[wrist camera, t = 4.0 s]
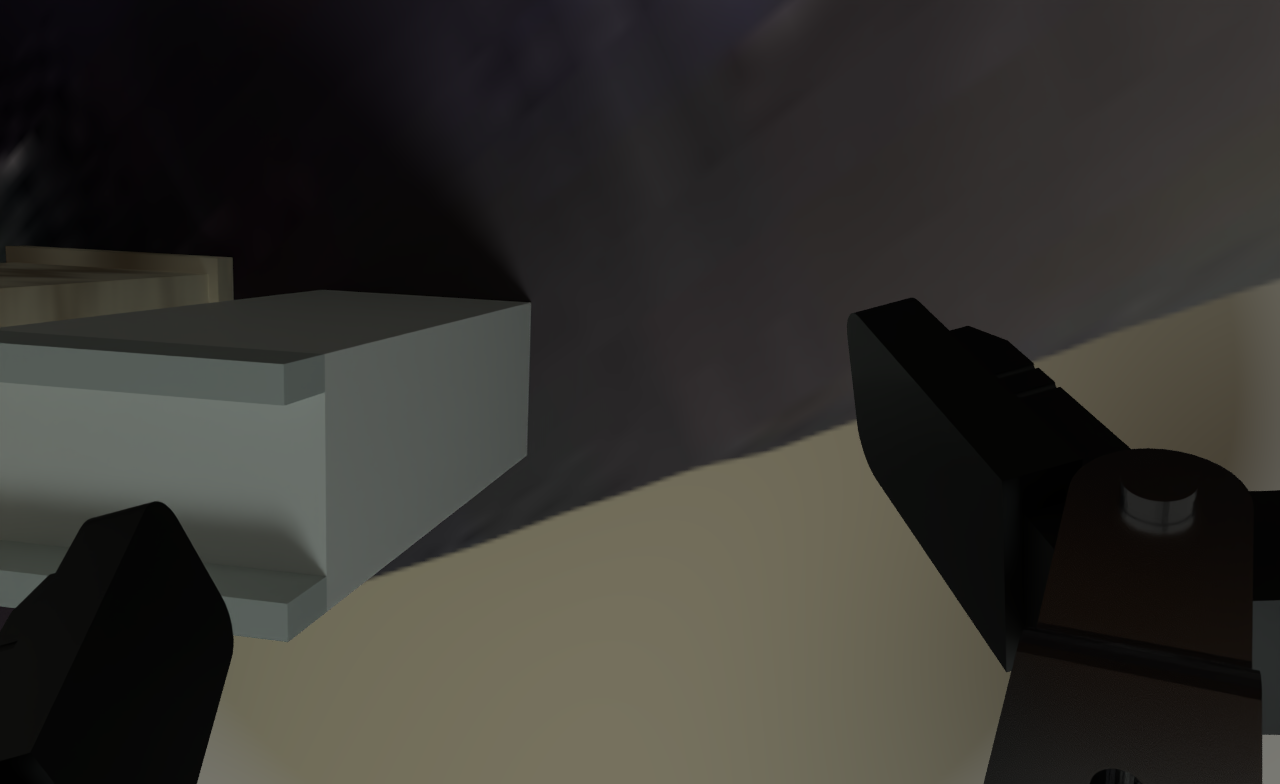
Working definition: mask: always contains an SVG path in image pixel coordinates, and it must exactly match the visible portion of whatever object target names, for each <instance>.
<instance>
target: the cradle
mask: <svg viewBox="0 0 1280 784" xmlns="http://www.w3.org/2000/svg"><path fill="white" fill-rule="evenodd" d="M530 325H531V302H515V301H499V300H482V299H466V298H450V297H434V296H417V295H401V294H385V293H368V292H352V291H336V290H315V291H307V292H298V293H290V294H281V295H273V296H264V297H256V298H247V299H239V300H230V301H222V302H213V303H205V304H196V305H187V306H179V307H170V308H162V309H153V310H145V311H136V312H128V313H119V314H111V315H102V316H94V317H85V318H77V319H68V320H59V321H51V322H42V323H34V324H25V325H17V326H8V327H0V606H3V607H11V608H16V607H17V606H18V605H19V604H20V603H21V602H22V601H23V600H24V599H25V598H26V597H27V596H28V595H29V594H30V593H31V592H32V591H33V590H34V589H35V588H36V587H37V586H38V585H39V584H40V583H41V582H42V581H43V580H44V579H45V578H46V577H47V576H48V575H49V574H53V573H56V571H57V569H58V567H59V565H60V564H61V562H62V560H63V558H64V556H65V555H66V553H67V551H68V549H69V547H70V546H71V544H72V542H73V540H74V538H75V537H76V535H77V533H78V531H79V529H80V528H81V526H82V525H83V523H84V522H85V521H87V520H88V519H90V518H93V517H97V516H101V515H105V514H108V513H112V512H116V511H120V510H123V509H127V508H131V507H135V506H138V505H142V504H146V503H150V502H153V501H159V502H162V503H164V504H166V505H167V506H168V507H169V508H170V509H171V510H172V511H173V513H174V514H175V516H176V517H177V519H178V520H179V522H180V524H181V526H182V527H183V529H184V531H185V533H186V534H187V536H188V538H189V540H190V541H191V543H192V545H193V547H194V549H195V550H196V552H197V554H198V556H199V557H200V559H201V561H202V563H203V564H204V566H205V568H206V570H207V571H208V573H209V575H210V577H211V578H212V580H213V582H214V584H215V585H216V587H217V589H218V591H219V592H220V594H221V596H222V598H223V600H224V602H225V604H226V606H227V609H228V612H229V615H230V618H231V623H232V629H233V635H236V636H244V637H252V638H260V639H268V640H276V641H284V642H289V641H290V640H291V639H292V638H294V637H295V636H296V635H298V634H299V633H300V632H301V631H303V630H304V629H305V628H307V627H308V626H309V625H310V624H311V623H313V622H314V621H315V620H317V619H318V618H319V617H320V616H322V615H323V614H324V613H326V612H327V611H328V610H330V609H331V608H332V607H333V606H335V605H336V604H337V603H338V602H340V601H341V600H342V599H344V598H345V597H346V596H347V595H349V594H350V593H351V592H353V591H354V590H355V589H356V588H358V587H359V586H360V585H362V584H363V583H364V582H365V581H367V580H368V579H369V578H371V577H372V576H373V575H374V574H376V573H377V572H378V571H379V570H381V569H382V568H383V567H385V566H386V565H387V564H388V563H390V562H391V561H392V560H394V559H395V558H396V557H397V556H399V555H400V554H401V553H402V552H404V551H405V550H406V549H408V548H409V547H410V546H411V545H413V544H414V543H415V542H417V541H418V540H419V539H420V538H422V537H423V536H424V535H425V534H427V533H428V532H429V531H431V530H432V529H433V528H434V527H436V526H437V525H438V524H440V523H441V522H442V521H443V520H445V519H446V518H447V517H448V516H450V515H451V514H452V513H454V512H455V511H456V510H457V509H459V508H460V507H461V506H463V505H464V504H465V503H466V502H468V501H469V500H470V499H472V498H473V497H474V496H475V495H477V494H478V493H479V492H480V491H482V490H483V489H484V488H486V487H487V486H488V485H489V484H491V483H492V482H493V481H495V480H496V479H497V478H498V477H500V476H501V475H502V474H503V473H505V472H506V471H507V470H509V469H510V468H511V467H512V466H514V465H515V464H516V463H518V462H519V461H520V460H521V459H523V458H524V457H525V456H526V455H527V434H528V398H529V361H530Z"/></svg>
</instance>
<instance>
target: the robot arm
mask: <svg viewBox="0 0 1280 784" xmlns="http://www.w3.org/2000/svg"><path fill="white" fill-rule="evenodd" d="M847 335H848V345H849V354H850V363H851V372H852V381H853V390H854V399H855V408H856V417H857V425H858V431H859V436H860V440H861V444H862V448H863V451H864V454H865V457H866V460H867V462H868V464H869V467H870V469H871V471H872V473H873V475H874V476H875V478H876V480H877V481H878V483H879V484H880V486H881V487H882V488H883V490H884V492H885V493H886V494H887V496H888V497H889V499H890V500H891V502H892V503H893V505H894V506H895V508H896V509H897V511H898V512H899V514H900V515H901V517H902V518H903V519H904V521H905V523H906V524H907V526H908V527H909V528H910V530H911V532H912V533H913V534H914V536H915V537H916V539H917V540H918V542H919V543H920V544H921V546H922V548H923V549H924V551H925V552H926V554H927V555H928V557H929V558H930V559H931V561H932V563H933V564H934V565H935V567H936V568H937V570H938V572H939V573H940V574H941V576H942V577H943V579H944V580H945V582H946V583H947V585H948V586H949V588H950V589H951V591H952V592H953V594H954V595H955V597H956V598H957V600H958V601H959V603H960V604H961V606H962V607H963V609H964V610H965V611H966V613H967V614H968V616H969V617H970V619H971V620H972V622H973V623H974V625H975V626H976V628H977V629H978V630H979V632H980V634H981V635H982V637H983V638H984V640H985V641H986V643H987V644H988V646H989V647H990V649H991V650H992V652H993V653H994V654H995V656H996V657H997V659H998V660H999V662H1000V663H1001V665H1002V666H1003V668H1004V669H1005V671H1006V672H1009V671H1011V675H1010V679H1009V683H1008V687H1007V691H1006V695H1005V700H1004V704H1003V708H1002V712H1001V716H1000V719H999V724H998V728H997V732H996V736H995V740H994V744H993V748H992V752H991V756H990V760H989V764H988V768H987V772H986V776H985V781H984V784H1262V735H1265V734H1266V735H1267V734H1268V735H1280V490H1277V491H1248V489H1247V488H1246V487H1245V485H1244V484H1243V483H1242V482H1241V480H1239V479H1238V478H1237V477H1236V476H1235V475H1233V474H1232V473H1231V472H1230V471H1228V470H1226V469H1225V468H1223V467H1222V466H1220V465H1218V464H1216V463H1213V462H1211V461H1209V460H1207V459H1204V458H1201V457H1198V456H1195V455H1192V454H1187V453H1183V452H1179V451H1172V450H1166V449H1150V448H1147V449H1130V448H1129V447H1128V446H1127V445H1126V444H1125V443H1124V442H1122V441H1121V440H1120V439H1119V438H1118V437H1117V436H1116V435H1114V434H1113V433H1112V432H1111V431H1110V430H1109V429H1108V428H1106V427H1105V426H1104V425H1103V424H1102V423H1101V422H1100V421H1099V420H1097V419H1096V418H1095V417H1094V416H1093V415H1092V414H1090V413H1089V412H1088V411H1087V410H1086V409H1085V408H1084V407H1083V406H1081V405H1080V404H1079V403H1078V402H1077V401H1076V400H1075V399H1073V398H1072V397H1071V396H1070V395H1069V394H1068V393H1067V392H1065V391H1064V390H1063V389H1062V388H1061V387H1058V388H1056V386H1055V382H1054V381H1053V380H1052V379H1051V378H1049V376H1047V375H1046V374H1045V373H1044V372H1043V371H1041V369H1039V368H1036V369H1035V368H1034V364H1033V362H1031V361H1030V360H1029V359H1028V358H1027V357H1026V356H1025V355H1023V354H1022V353H1021V352H1020V351H1019V350H1018V349H1017V348H1016V347H1014V346H1013V345H1012V344H1011V343H1010V342H1009V341H1007V340H1005V339H1002V338H999V337H997V336H994V335H991V334H989V333H986V332H983V331H981V330H978V329H976V328H973V327H970V326H965V327H962V328H958V329H954V330H951V331H949V330H948V329H947V328H946V327H945V326H944V325H943V324H942V323H941V322H940V321H939V320H938V319H937V318H936V317H935V316H934V315H933V314H932V313H930V312H929V311H928V310H927V309H926V308H925V307H924V306H923V305H922V304H921V303H920V302H919V301H918V300H916V299H915V298H908V299H904V300H901V301H897V302H893V303H889V304H886V305H882V306H878V307H874V308H871V309H867V310H863V311H859V312H856V313H852V314H850V316H849V318H848V322H847ZM233 640H234V639H233V629H232V623H231V618H230V615H229V612H228V609H227V606H226V604H225V602H224V600H223V598H222V596H221V594H220V592H219V591H218V589H217V587H216V585H215V584H214V582H213V580H212V578H211V577H210V575H209V573H208V571H207V570H206V568H205V566H204V564H203V563H202V561H201V559H200V557H199V556H198V554H197V552H196V550H195V549H194V547H193V545H192V543H191V541H190V540H189V538H188V536H187V534H186V533H185V531H184V529H183V527H182V526H181V524H180V522H179V520H178V519H177V517H176V516H175V514H174V513H173V511H172V510H171V509H170V508H169V507H168V506H167V505H166V504H164V503H162V502H159V501H153V502H150V503H146V504H142V505H138V506H135V507H131V508H127V509H123V510H120V511H116V512H112V513H108V514H105V515H101V516H97V517H93V518H90V519H88V520H87V521H85V522H84V523H83V525H82V526H81V528H80V529H79V531H78V533H77V535H76V537H75V538H74V540H73V542H72V544H71V546H70V547H69V549H68V551H67V553H66V555H65V556H64V558H63V560H62V562H61V564H60V565H59V567H58V569H57V571H56V573H53V574H49V575H48V576H47V577H46V578H45V579H44V580H43V581H42V582H41V583H40V584H39V585H38V586H37V587H36V588H35V589H34V590H33V591H32V592H31V593H30V594H29V595H28V596H27V597H26V598H25V599H24V600H23V601H22V602H21V603H20V604H19V605H18V606H17V607H16V608H15V609H14V610H13V611H12V612H11V614H10V616H9V617H8V619H7V621H6V623H5V624H4V626H3V628H2V629H1V631H0V784H197V781H198V777H199V773H200V770H201V766H202V763H203V759H204V756H205V752H206V748H207V745H208V741H209V738H210V734H211V730H212V727H213V723H214V720H215V716H216V712H217V709H218V705H219V702H220V698H221V694H222V691H223V687H224V684H225V680H226V676H227V672H228V669H229V666H230V662H231V658H232V654H233Z"/></svg>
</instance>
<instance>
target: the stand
mask: <svg viewBox="0 0 1280 784" xmlns="http://www.w3.org/2000/svg"><path fill="white" fill-rule="evenodd" d="M5 247H6V263H0V327H8V326H17V325H25V324H34V323H42V322H51V321H59V320H68V319H77V318H85V317H94V316H102V315H111V314H119V313H128V312H136V311H145V310H153V309H162V308H170V307H179V306H187V305H196V304H205V303H213V302H222V301H230V300H234V292H233V257H216V256H198V255H181V254H163V253H145V252H128V251H110V250H92V249H74V248H57V247H39V246H5Z"/></svg>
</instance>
